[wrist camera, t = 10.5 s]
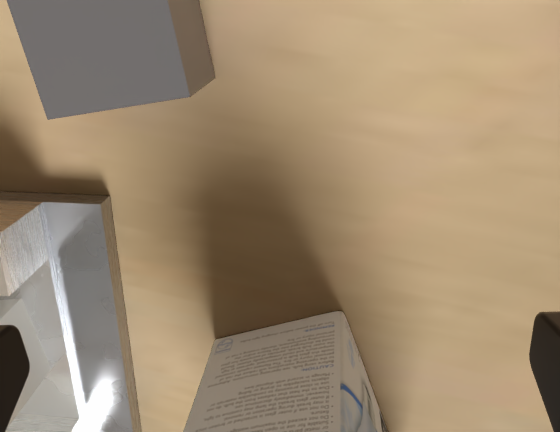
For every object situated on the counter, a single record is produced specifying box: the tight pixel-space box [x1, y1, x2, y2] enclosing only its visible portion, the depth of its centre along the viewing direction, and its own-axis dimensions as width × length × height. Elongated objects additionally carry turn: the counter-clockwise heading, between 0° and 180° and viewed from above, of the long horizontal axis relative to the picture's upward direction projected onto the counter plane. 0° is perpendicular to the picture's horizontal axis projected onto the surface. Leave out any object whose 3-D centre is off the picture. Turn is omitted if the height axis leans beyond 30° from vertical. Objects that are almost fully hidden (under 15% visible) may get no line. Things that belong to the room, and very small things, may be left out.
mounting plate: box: [0, 191, 141, 432], centre depth 24 cm, size 10×14×4 cm
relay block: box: [7, 0, 215, 120], centre depth 18 cm, size 5×4×4 cm
